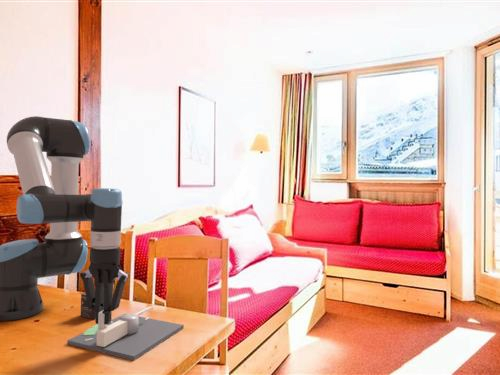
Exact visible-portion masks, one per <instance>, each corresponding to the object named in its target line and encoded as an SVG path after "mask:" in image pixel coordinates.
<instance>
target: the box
mask: <svg viewBox="0 0 500 375" xmlns="http://www.w3.org/2000/svg"><path fill="white" fill-rule="evenodd" d="M80 297H81V298H80V317H82V318H85V319H90V320H96V319H95V318H96V312H95V310H93V309H89V308H88V303H87V298H86V293H85V292H84V293H81V294H80ZM103 310H104V309H103Z"/></svg>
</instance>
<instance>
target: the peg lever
mask: <svg viewBox="0 0 500 375" xmlns="http://www.w3.org/2000/svg"><path fill="white" fill-rule="evenodd" d="M151 310H153V306H152V305H151V306H148V307H147V308H144V309H142V310H140V311H138V312H136V313H125V314H126V315H124V314H121V315H122V316H121V315H120V316H121V317H120V320H119V321H117V322H115V323H113V324H111V325H109V326H107V327H105V328H103V329H100V330H98V331H97V346H102V347H105V346H107V345H109V344H110V343H112V342H114V341H116V340H117V339H119V338H121V337H123V336H125V335H129V334H134V333H136V332H138V319H139V317H140V316H141V315H143V314H144V313H145V314H146V313H148V312H149V311H151Z"/></svg>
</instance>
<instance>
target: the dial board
mask: <svg viewBox="0 0 500 375" xmlns="http://www.w3.org/2000/svg"><path fill="white" fill-rule="evenodd" d="M126 314H127V313H124V314H121V315H119V316H116V317H114V319H111V323H109V324H108V326H109V325H111V324H113V323H115V322H117V321H119V320H120V317H121V316H122V315H126ZM184 328H185V327H184V324H180V323H176V322H169V321H165V320H158V319H153V318H150V317H149V316H148V317H144V316H139V319H138V332H136V333H134V334H129V335H125V336H123V337H121V338H119V339H117V340H116V341H114V342H112V343H110V344H109V345H107V346H105V347H102V346H97V331H98V324H96V323H95V325H92V326H90V327H89V328H88V329H86V330H85V331H84V332H82V333H80V334H78V335H76V336H74V337H71V338H69V339H67V345H71V346H75V347H77V348H78V347H79V348H82V349H87V350H91V351H94V352H99V353H102V354H103V353H104V354H106V355H111V356H114V357H119V358H123V359H127V360H130V361H131V360H132V361H136V360H137V359H138V358H140V357H141V356H143V355H145V354H146V353H148V352H150V351H151V350H152V349H154V348H156V347H157V346H158V345H160V344H162V343H163V342H165V341H166V340H169V338H171V337H172V336H174V335H176V334H177V333H179V332H180V331H182V330H183V329H184Z"/></svg>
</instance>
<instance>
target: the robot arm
mask: <svg viewBox="0 0 500 375" xmlns="http://www.w3.org/2000/svg"><path fill="white" fill-rule="evenodd" d="M6 145H7V149H8V151H9V153H11V154H12V155H13V158H14V162H15V167H16V170H17V175H18V178H19V183H20V187H21V191H22V194H20V195H19V196H18V197H17V200H16V218H17V220H18V222H19V223H21V224H24V225H25V224H29V225H30V224H34V225H39V224H40V225H41V224H42V225H43V224H49V232H48V233H47V234H46V235H45V236H44V241H43V242H40V241H39V240H38V239H37V238H28V239H18V240H13V241H9V242H6V243H3V244H1V245H0V322H3V321H4V322H5V321H8V322H9V321H16V320H22V319H26V318H30V317H33V316H36V315H39V314H40V313H42V312H43V311H44V301H43V299H42V298H43V297H42V296H41V295H42V294H41V293H40V290H39V287H38V280H39V279H41V278H48V277H56V276H57V277H58V276H64V275H68V276H69V275H71V274H76V273H79V277H80V279H81V280H82V282H83V287H84V293H86V298H87V303H88V308H89V309H93V310H95V312H96V318H95V319H94V320H95V325H96V324H98V330H100V329H103V328H105V327H107V326H108V324H109V323H111V320H112V312H113V311H115V310H117V309H118V308H120V304H121V300H122V297H123V296H122V295H123V293H124V289H125V286H126V282H127V280H128V279H129V278H130V273H128V272H126V273H125V272H124V271H123V270H122V267H121V264H120V261H121V251H122V250H121V247H120V245H122V241H121V239H122V215H123V214H122V211H123V210H122V209H123V195H122V190H121V189H119V188H107V187H105V188H104V187H102V188H101V187H96V188H93V189H92V190H91V193H86V194H79V174H80V173H79V172H80V171H79V170H80V169H79V167H80V166H79V165H80V163H81V162H82V161H84V156H86V155H88V154H89V153H90V147H91V140H90V134H89V130H88V128H87V127H86V125H85V124H84V123H83V122H80V121H76V120H72V119H61V118H51V117H44V116H38V115H37V116H36V115H35V116H28V117H24V118H23V119H20V120H19V121H17V122H16V123H15V124H13V125H12V127H10V129H9V130H8V132H7V135H6ZM43 152H44V153H46V159H47V160H48V161H49V162H50V164H51V165H50V170H51V171H50V172H49V169H48V166H47V163H46V159H45V157H44V153H43ZM81 222H90V244H89V245H90V249H89V248H88V242H87V241H86V240H85V239H84V238H83V235H82V234H81V233H80V232H79V230H78V226H79V225H78V223H81ZM88 254H89V262H90V264H89V266H88V269H86V270H85V271H83V272H81V271H82V270H83V269H84V268H85V266H86V263H87V260H88ZM80 272H81V273H80ZM116 278H117V283H116V285H115V279H116ZM114 285H115V289H114ZM103 309H104V310H103Z"/></svg>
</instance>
